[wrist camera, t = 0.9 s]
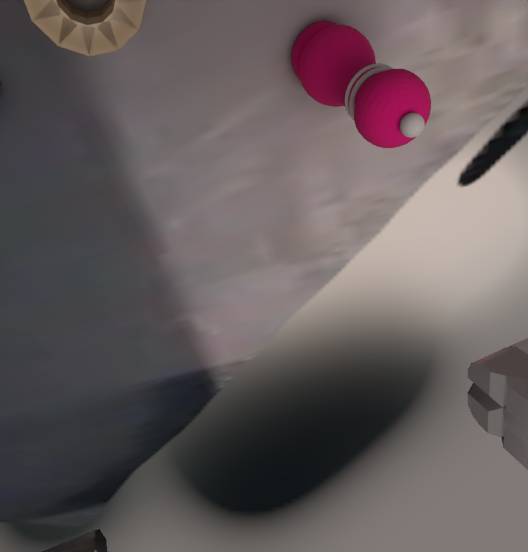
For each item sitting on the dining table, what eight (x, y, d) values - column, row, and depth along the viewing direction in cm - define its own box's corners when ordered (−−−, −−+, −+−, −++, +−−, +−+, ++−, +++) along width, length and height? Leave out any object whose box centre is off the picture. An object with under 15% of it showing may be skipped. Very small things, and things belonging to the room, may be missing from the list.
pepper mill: (286, 93, 53) (367, 181, 38) (286, 18, 48) (380, 85, 33) (348, 85, 54) (450, 167, 39) (355, 12, 49) (473, 73, 35)
